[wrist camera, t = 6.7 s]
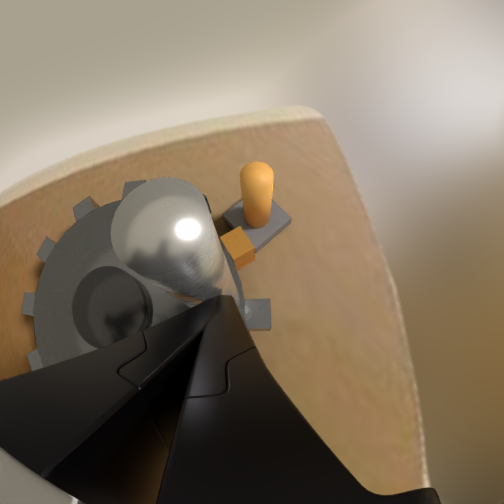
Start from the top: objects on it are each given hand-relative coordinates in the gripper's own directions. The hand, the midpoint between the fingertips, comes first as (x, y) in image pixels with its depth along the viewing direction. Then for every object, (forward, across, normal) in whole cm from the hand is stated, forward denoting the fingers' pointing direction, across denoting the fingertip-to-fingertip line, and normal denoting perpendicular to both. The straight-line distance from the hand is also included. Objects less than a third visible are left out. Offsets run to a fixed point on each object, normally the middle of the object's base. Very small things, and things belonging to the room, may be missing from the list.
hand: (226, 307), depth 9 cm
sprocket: (+4, -6, -5) cm, 9 cm away
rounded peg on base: (+10, 0, -1) cm, 10 cm away
